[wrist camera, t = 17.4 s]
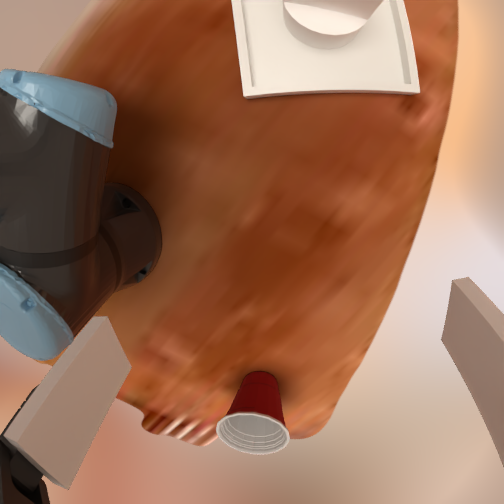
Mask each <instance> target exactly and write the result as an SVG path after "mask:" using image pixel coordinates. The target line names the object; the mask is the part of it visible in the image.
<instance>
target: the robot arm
mask: <svg viewBox="0 0 504 504" xmlns="http://www.w3.org/2000/svg"><path fill="white" fill-rule="evenodd" d="M116 114H117V104H116V101H115V99H114V97H113V96H112V94H111V93H109V92H108V91H106V90H104V89H102V88H99V87H96V86H92V85H89V84H86V83H82V82H78V81H74V80H70V79H66V78H62V77H57V76H52V75H47V74H42V73H36V72H27V71H19V70H14V69H4V70H2V71H1V72H0V335H1V336H2V337H3V338H4V339H5V340H6V341H7V342H8V343H9V344H10V345H11V346H13V347H14V348H15V349H17V350H18V351H19V352H21V353H22V354H24V355H26V356H28V357H30V358H33V359H36V360H41V361H43V360H48V359H53V358H55V357H56V356H57V355H59V354H60V353H61V352H62V351H63V350H64V349H65V348H66V347H67V346H68V345H70V346H69V347H68V348H67V349H66V351H65V352H64V353H63V354H62V356H61V357H60V358H59V359H58V361H57V362H56V363H55V364H54V366H53V367H52V368H51V370H50V371H49V372H48V374H47V375H46V376H45V377H44V379H43V380H42V382H41V383H40V384H39V385H38V386H36V387H35V388H34V389H33V390H32V391H31V393H30V394H29V395H28V397H27V398H26V401H24V402H23V404H22V405H21V408H20V409H18V411H17V412H16V413H15V415H14V416H13V418H12V419H11V420H10V422H9V423H8V425H7V426H6V428H5V429H4V431H3V432H2V434H1V435H0V504H50V501H49V497H48V492H47V487H46V484H45V482H44V481H43V480H42V479H41V478H42V476H43V475H44V476H46V477H47V478H48V479H49V480H50V481H52V482H53V483H54V484H56V485H59V486H61V487H63V488H65V489H68V490H69V488H70V486H71V484H72V482H73V480H74V478H75V476H76V474H77V471H78V470H79V468H80V466H81V463H82V461H83V459H84V457H85V455H86V453H87V451H88V449H89V447H90V445H91V443H92V441H93V439H94V437H95V435H96V433H97V431H98V430H99V427H100V426H101V424H102V422H103V420H104V418H105V416H106V414H107V412H108V410H109V408H110V406H111V405H112V403H113V401H114V399H115V397H116V395H117V393H118V392H119V390H120V388H121V386H122V384H123V382H124V380H125V379H126V377H127V375H128V373H129V371H130V370H131V368H132V367H131V365H130V363H129V361H128V359H127V357H126V355H125V353H124V351H123V349H122V347H121V345H120V343H119V341H118V338H117V336H116V334H115V332H114V330H113V328H112V325H111V323H110V321H109V319H108V316H102V317H93V318H92V316H93V315H94V314H95V313H96V312H97V311H98V310H99V308H100V307H101V306H102V305H103V304H104V303H105V302H106V301H107V300H108V298H109V297H110V296H111V295H112V294H113V293H114V292H117V291H119V290H122V289H125V288H127V287H130V286H133V285H135V284H137V283H139V282H140V281H142V280H143V279H144V278H145V277H146V276H147V275H148V274H149V273H150V272H151V270H152V269H153V268H154V266H155V265H156V263H157V261H158V259H159V256H160V253H161V246H162V236H161V230H160V225H159V222H158V220H157V217H156V215H155V213H154V211H153V209H152V208H151V206H150V205H149V203H148V202H147V201H146V200H145V199H144V198H143V197H142V196H141V195H140V194H139V193H138V192H136V191H135V190H133V189H132V188H130V187H128V186H125V185H123V184H119V183H105V178H106V172H107V166H108V161H109V156H110V151H111V148H113V142H112V138H113V131H114V124H115V119H116ZM91 318H92V319H91ZM90 319H91V320H90ZM89 320H90V321H89ZM88 321H89V323H88V324H87V325H86V323H87V322H88ZM85 325H86V326H85ZM84 326H85V327H84ZM83 327H84V328H83ZM82 328H83V330H82V331H81V332H80V330H81V329H82ZM79 332H80V333H79ZM78 333H79V335H78V336H77V337H76V338H75V339H74V337H75V336H76V335H77V334H78ZM441 340H442V342H443V344H444V345H445V347H446V349H447V351H448V352H449V354H450V355H451V357H452V359H453V361H454V363H455V365H456V366H457V368H458V370H459V372H460V373H461V375H462V377H463V379H464V381H465V383H466V385H467V387H468V389H469V391H470V393H471V395H472V397H473V399H474V401H475V403H476V405H477V407H478V409H479V411H480V413H481V415H482V417H483V419H484V422H485V424H486V426H487V428H488V430H489V432H490V435H491V437H492V439H493V442H494V444H495V447H496V449H497V451H498V454H499V456H500V459H501V461H502V464H503V467H504V314H503V313H502V312H501V311H500V310H499V309H498V308H497V307H496V305H495V304H494V303H493V302H492V301H491V300H490V299H489V298H488V297H487V296H486V295H485V294H484V293H483V292H482V290H481V289H480V288H479V287H478V286H477V285H476V284H475V283H474V282H473V281H472V280H471V279H470V278H469V277H466V278H462V279H456V280H452V286H451V292H450V299H449V304H448V310H447V315H446V320H445V325H444V330H443V335H442V339H441Z"/></svg>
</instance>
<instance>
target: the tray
mask: <svg viewBox="0 0 504 504" xmlns="http://www.w3.org/2000/svg"><path fill="white" fill-rule="evenodd" d="M232 8H233V15H234V23H235V31H236V39H237V47H238V55H239V63H240V71H241V79H242V87H243V95H244V97H245V98H246V99H252V98H261V97H271V96H283V95H297V94H315V93H386V94H404V95H413V94H417V93H420V88H419V80H418V72H417V66H416V59H415V53H414V47H413V42H412V37H411V32H410V27H409V22H408V18H407V14H406V10H405V6H404V2H403V0H383V2H382V3H381V4H380V5H379V7H378V8H377V9H376V10H375V11H374V13H373V14H372V15H371V16H370V18H369V19H368V20H367V22H366V23H365V24H364V26H363V27H362V28H361V29H360V31H359V32H358V33H357V34H356V36H355V37H354V38H353V40H351V41H350V42H349V43H347V44H346V45H344V46H342V47H339V48H336V49H317V48H314V47H311V46H307V45H305V44H304V43H302V42H300V41H298V40H297V39H296V38H295V37H294V36H293V35H292V34H291V33H290V32H289V30H288V29H287V27H286V25H285V22H284V19H283V0H232Z"/></svg>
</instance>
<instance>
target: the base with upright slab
mask: <svg viewBox="0 0 504 504" xmlns="http://www.w3.org/2000/svg"><path fill="white" fill-rule="evenodd" d="M382 2H383V0H283V19H284V22H285V25H286V27H287V29H288V30H289V32H290V33H291V34H292V35H293V36H294V37H295V38H296V39H297V40H298V41H300V42H302V43H304V44H305V45H307V46H311V47H314V48H317V49H336V48H339V47H342V46H344V45H346V44H347V43H349V42H350V41H351V40H353V38H354V37H355V36H356V34H357V33H358V32H359V31H360V29H361V28H362V27H363V26H364V24H365V23H366V22H367V20H368V19H369V18H370V16H371V15H372V14H373V13H374V11H375V10H376V9H377V8H378V7H379V5H380V4H381V3H382Z"/></svg>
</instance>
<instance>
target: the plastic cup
mask: <svg viewBox="0 0 504 504" xmlns="http://www.w3.org/2000/svg"><path fill="white" fill-rule="evenodd" d="M216 432H217V434H218V436H219V438H220V439H221V440H222V441H223V442H224V443H225V444H226V445H228V446H229V447H232V448H233V449H236V450H238V451H241V452H245V453H249V454H270V453H274V452H277V451H279V450H281V449H283V448H284V447H286V445H287V444H288V442H289V440H290V437H289V432H288V429H287V428H286V426H285V422H284V417H283V412H282V405H281V399H280V394H279V389H278V384H277V381H276V379H275V377H274V376H273V375H271V374H269V373H267V372H262V371H257V372H252V373H249V374H248V375H247V376H246V377H245V379H243V382H242V384H241V387H240V389H239V390H238V392H237V394H236V396H235V399H234V401H233V403H232V405H231V407H230V409H229V411H228V412H227V414H226V415H225V416H224V417H223V418H222V419H221V420H220V421H219V422H218V424H217V428H216Z"/></svg>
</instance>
